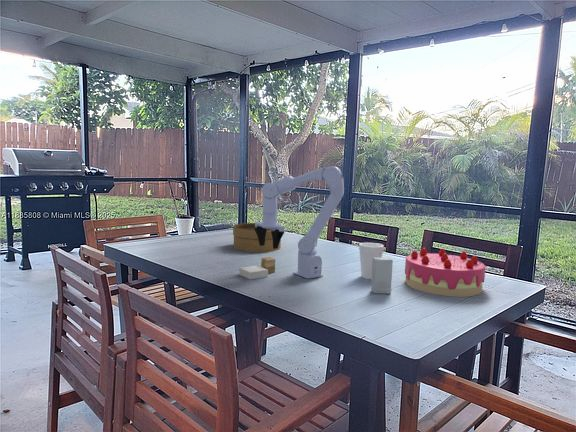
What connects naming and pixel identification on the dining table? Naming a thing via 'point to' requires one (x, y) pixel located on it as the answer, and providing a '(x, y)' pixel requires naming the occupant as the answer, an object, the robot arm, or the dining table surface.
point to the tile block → (253, 272)
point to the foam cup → (369, 257)
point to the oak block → (268, 264)
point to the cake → (444, 273)
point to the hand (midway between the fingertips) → (268, 246)
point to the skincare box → (381, 275)
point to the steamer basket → (251, 239)
